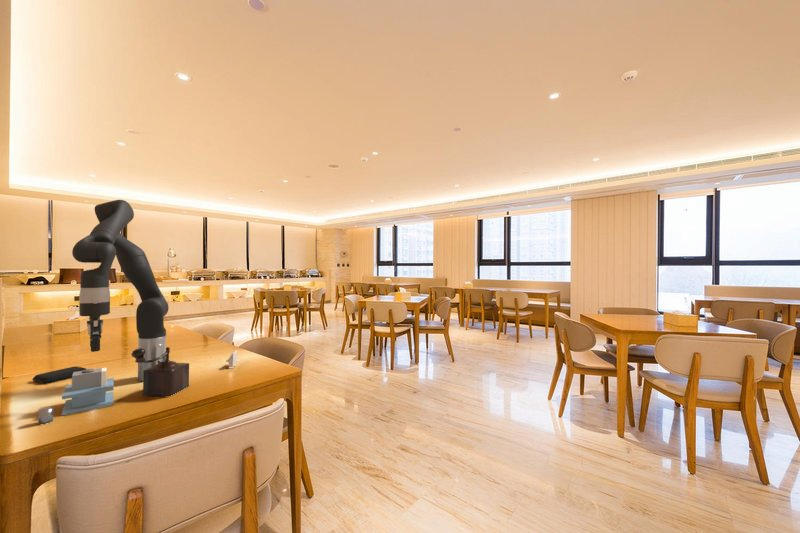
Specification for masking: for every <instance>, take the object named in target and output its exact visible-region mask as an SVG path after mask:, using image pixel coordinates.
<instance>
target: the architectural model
mask: <svg viewBox="0 0 800 533" xmlns="http://www.w3.org/2000/svg"><path fill="white" fill-rule="evenodd" d="M238 355H239V350H238V349H237V350H235V351H234V350H232V351H231V353H230V355H229V357H228V359H227V360H225V361H224V362H225V363H228V368H229V367H234V366H235V365H236V364H238V362H239V361H238V358H239V357H238ZM235 367H236V366H235ZM235 367H234V368H235Z"/></svg>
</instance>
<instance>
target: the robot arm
mask: <svg viewBox="0 0 800 533" xmlns="http://www.w3.org/2000/svg"><path fill="white" fill-rule="evenodd" d="M94 214H95V216H96V219H97V220H98V222H99V223H98V224H96V225H95V226H94V227H93V229H92V230H91V231H90V234H89V235H87V236H85V237H83V238H82V239H80V240H78V241H77V242H76V243H75V245H73V248H72V251H71V253H72V257H73V259H74V260H75V261H76V262H79V263H84V264H85V263H86V264H87V263H88V264H89V263H90V264H91V263H92V264H93V263H94V264H95V263H98V264H99V263H100V265H98V267H96V268H92V269H86V270H83V271H81V273H80V289H79V294H78V295H79V296H78V298H79V300H78V304H79V306H78V307H79V312H78V313H79V316H80V317H89V318H88V320H86V327H87V333H88V335H89V347H90V352H92V353H93V352H100V350H101V339H102V334H103V326H104V320H103V319H101V316H105V315H109V314H110V313H111V291H110V272H111V268H112V265H113V263H114V260H115V257H116V259H117V262H118V264H119V267H120V269H121V270H122V273H123V275H124V276H125V277H126V279H127V280H128V281H129V282H130V283H131V284H132V285H133V287H134V288H135V289H136V290H137V293H138V294H139V297H140V301H141V302H139V304H138V305H137V308H136V311H135V312H136V313H135V314H136V315H135V316H136V317H135V319H136V320H135V323H136V327H135V328H136V332H137V334H138V338H137V339H138V340H137V341H138V342H137V343H138V345H137V349H138V348H142V349H145V350H146V353H145V354H144V358H145V360H153V359H155V358H158V357H160V356H162V355H163V354H164V353H165V352H166V348H167V329H166V328H165V325H164V324H165V323H164V322H165V321H164V318H165V316H166V315H167V314H168V312H169V303H168V302H167V299H166V298H165V296H164V294H163V293H162V291H161V289H160V287H159V286H158V284H157V281H156V280H157V279H156V278H155V276H154V273H153V271H152V268H151V265H150V262H149V259H148V258H147V255H146V252H145V251H144V250H143V248H141V247H140V246H138V245H136V244H135V243H133V242H132V241H130V240H129V239H128V238H127V237H125V236H124V235H123V234H122V233H121V232H122V231H123V229H125V227H126V226H127V225H128V224H130V223H131V221H133V219H134V218H135V212H134V209H133V207H132V206H131V204H130V203H129V202H128V201H127V200H124V199H115V200H111V201H107V202H103V203H99V204H96V205H95V207H94ZM165 360H166V356H164V357H163V358H161V359H159V360H157V361H154V362H150V363H142V362H139V363H137V381H139V382H143V371H144V370H146V369H148V368H151V367H152V366H153V365H156V364H158V361H160V362H163V361H165Z"/></svg>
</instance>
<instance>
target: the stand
mask: <svg viewBox="0 0 800 533" xmlns="http://www.w3.org/2000/svg"><path fill="white" fill-rule="evenodd" d="M114 381H115V380H114V377H112V378H111V377H110V378H106V386H101V387H95V388H89V389H83V390H78V391H72V384H68V385H66V386H65V388H64V390H63V393H62V395H61V400H65V402H64V405H63V408H62V411H61V416H66V415H72V414H76V413H77V414H78V413H81V412H86V411H92V410H96V409H101V408H106V407H111V406H114Z"/></svg>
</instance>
